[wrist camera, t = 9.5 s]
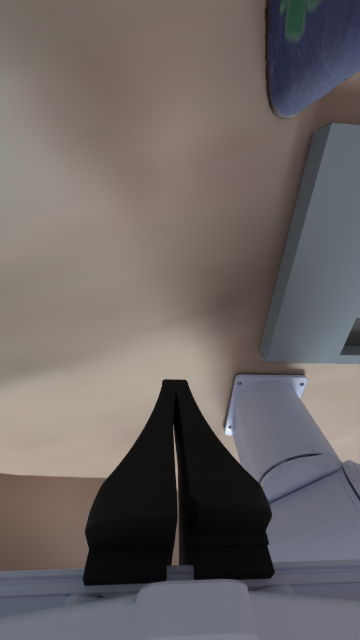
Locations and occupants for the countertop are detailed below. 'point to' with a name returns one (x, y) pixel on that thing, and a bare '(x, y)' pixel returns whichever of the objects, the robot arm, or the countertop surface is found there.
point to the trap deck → (321, 259)
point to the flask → (309, 50)
